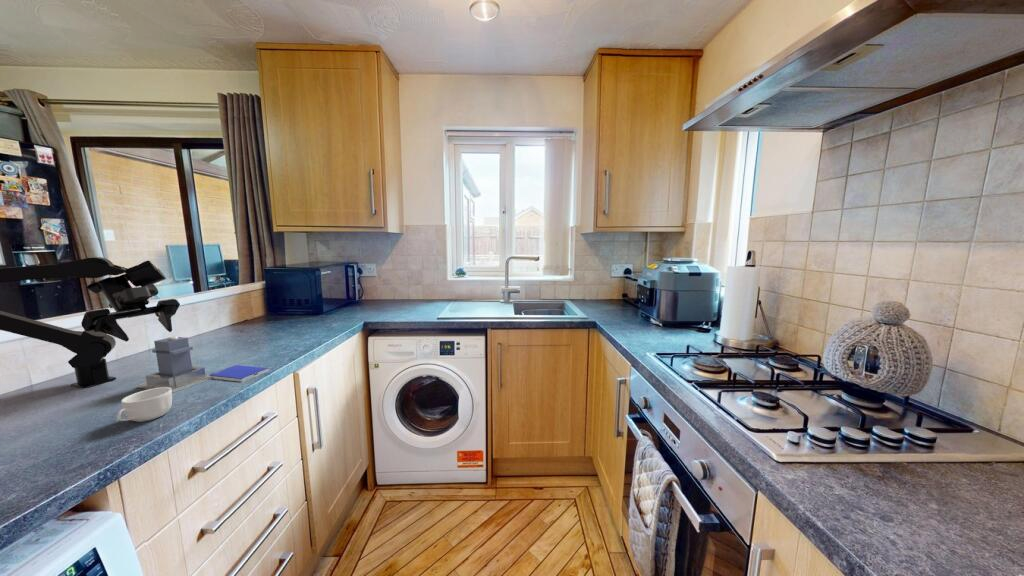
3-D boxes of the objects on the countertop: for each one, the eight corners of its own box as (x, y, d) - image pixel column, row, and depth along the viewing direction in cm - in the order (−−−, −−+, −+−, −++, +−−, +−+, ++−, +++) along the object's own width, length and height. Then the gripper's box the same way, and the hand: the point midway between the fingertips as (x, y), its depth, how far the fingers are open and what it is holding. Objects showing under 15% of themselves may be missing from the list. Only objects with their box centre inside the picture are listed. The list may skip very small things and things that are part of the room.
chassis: (137, 387, 92) (135, 376, 91) (181, 373, 101) (180, 363, 101) (172, 392, 88) (170, 380, 88) (214, 378, 98) (213, 367, 97)
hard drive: (209, 374, 98) (241, 377, 95) (237, 364, 106) (268, 367, 103) (209, 379, 98) (242, 383, 95) (238, 369, 106) (269, 372, 103)
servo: (157, 381, 94) (150, 338, 92) (176, 375, 98) (170, 333, 96) (178, 384, 91) (171, 340, 90) (197, 378, 96) (191, 335, 94)
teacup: (152, 408, 80) (149, 387, 79) (184, 408, 80) (181, 386, 79) (101, 431, 70) (97, 407, 69) (138, 431, 70) (134, 407, 69)
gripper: (77, 281, 85) (109, 326, 83) (171, 273, 102) (199, 310, 101) (68, 308, 89) (99, 352, 87) (160, 296, 106) (187, 332, 104)
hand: (150, 335), depth 95 cm, fingers open, 9 cm apart
